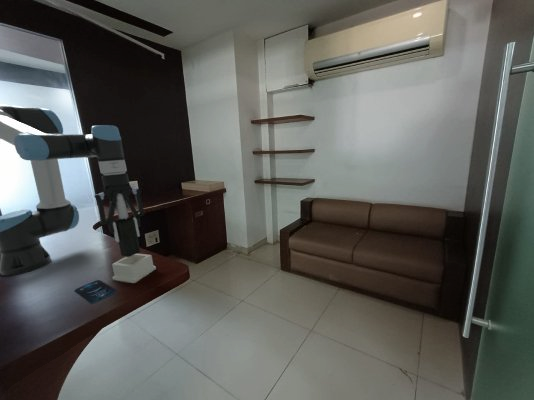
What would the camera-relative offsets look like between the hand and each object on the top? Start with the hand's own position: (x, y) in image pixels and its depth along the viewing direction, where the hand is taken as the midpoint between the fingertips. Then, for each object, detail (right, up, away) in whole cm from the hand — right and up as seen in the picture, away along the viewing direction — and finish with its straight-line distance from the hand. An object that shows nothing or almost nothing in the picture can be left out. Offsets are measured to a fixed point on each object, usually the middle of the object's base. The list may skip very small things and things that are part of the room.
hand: (127, 238), depth 84 cm
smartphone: (-7, -17, -6) cm, 19 cm away
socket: (+1, -14, +3) cm, 14 cm away
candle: (0, -6, +1) cm, 6 cm away
